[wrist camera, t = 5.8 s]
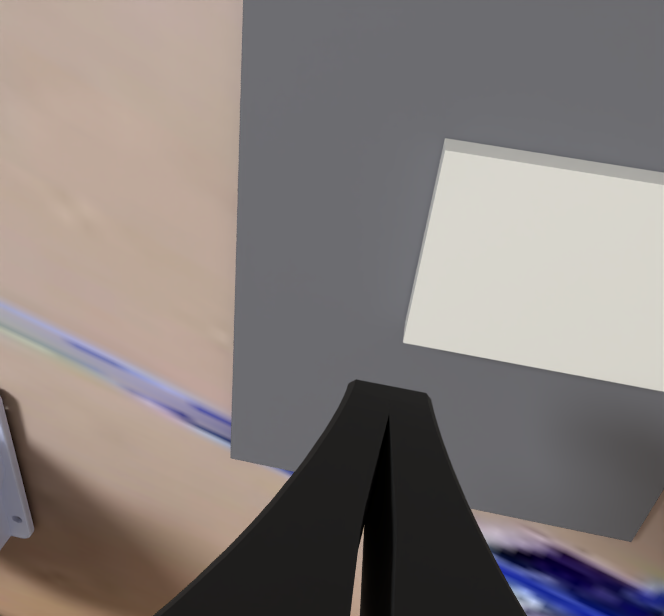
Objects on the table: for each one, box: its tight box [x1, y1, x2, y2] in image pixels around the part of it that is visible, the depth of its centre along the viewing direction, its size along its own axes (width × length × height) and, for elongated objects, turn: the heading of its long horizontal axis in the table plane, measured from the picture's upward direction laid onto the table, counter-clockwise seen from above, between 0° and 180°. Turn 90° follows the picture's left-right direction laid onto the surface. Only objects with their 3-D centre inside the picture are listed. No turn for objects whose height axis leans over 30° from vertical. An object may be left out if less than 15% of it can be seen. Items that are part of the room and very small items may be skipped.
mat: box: [231, 0, 664, 542], centre depth 17 cm, size 22×16×1 cm
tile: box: [403, 138, 664, 392], centre depth 16 cm, size 6×1×8 cm
